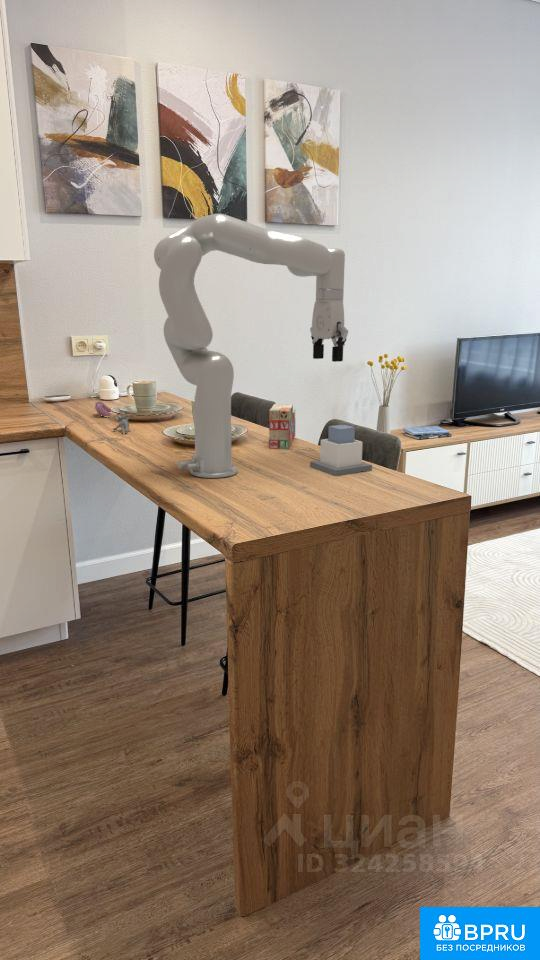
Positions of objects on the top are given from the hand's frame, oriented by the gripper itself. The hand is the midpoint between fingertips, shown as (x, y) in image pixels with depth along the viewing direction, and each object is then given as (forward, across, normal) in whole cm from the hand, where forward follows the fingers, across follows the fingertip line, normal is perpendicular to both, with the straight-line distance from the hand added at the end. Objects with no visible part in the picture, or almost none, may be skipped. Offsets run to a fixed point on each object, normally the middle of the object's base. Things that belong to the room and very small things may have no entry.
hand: (327, 359), depth 194 cm
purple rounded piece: (+29, -102, -36) cm, 112 cm away
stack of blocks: (+28, -26, +1) cm, 39 cm away
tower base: (+28, +12, -2) cm, 31 cm away
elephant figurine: (+29, -66, -38) cm, 81 cm away
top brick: (+22, +12, -3) cm, 25 cm away
